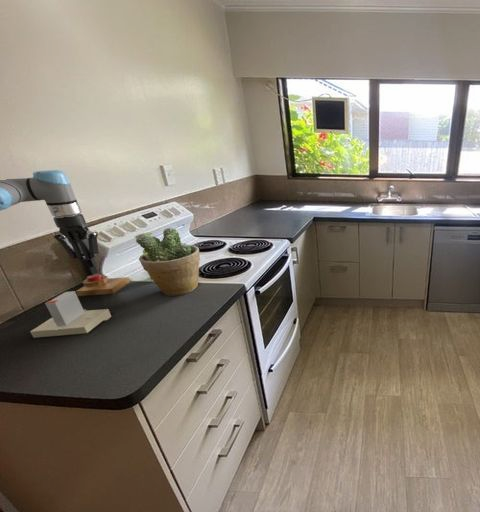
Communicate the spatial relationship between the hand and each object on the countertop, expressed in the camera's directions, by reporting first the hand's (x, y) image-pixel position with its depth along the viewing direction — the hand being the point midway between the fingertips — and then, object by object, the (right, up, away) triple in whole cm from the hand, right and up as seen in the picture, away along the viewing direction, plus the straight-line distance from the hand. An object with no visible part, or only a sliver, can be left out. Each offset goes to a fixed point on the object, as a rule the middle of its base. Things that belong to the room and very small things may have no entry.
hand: (93, 274), depth 112 cm
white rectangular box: (+16, -13, -23) cm, 31 cm away
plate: (+16, -16, -21) cm, 31 cm away
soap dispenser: (+18, -3, +11) cm, 21 cm away
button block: (+3, -6, +2) cm, 7 cm away
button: (0, -2, +1) cm, 3 cm away
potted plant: (+33, -6, +2) cm, 34 cm away
